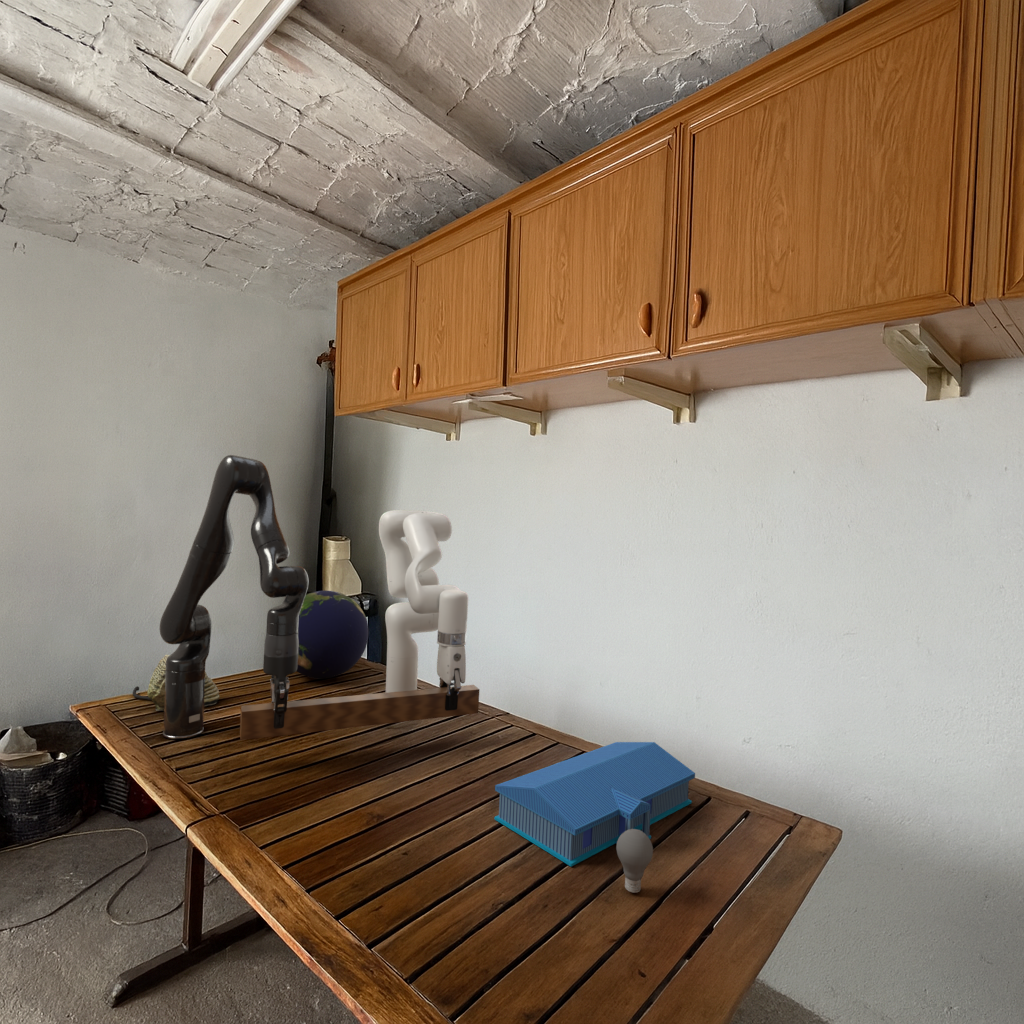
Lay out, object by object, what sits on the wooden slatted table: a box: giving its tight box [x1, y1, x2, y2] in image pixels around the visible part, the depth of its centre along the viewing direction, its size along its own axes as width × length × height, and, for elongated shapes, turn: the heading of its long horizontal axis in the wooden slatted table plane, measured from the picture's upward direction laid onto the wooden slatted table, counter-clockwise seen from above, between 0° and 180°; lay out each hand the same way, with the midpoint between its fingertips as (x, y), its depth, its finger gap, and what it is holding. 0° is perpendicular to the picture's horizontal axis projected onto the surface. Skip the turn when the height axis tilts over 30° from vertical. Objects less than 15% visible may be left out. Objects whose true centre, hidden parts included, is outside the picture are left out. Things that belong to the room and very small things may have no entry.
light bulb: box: [615, 829, 654, 894], centre depth 106 cm, size 6×6×10 cm
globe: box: [296, 590, 369, 680], centre depth 219 cm, size 30×30×30 cm
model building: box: [493, 741, 696, 868], centre depth 132 cm, size 39×24×10 cm, turn 132°
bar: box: [239, 684, 480, 741], centre depth 157 cm, size 58×4×6 cm, turn 116°
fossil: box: [147, 654, 221, 712], centre depth 185 cm, size 9×18×15 cm, turn 132°
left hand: (277, 723), depth 148 cm, fingers closed on bar, 4 cm apart
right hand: (447, 705), depth 166 cm, fingers closed on bar, 4 cm apart
